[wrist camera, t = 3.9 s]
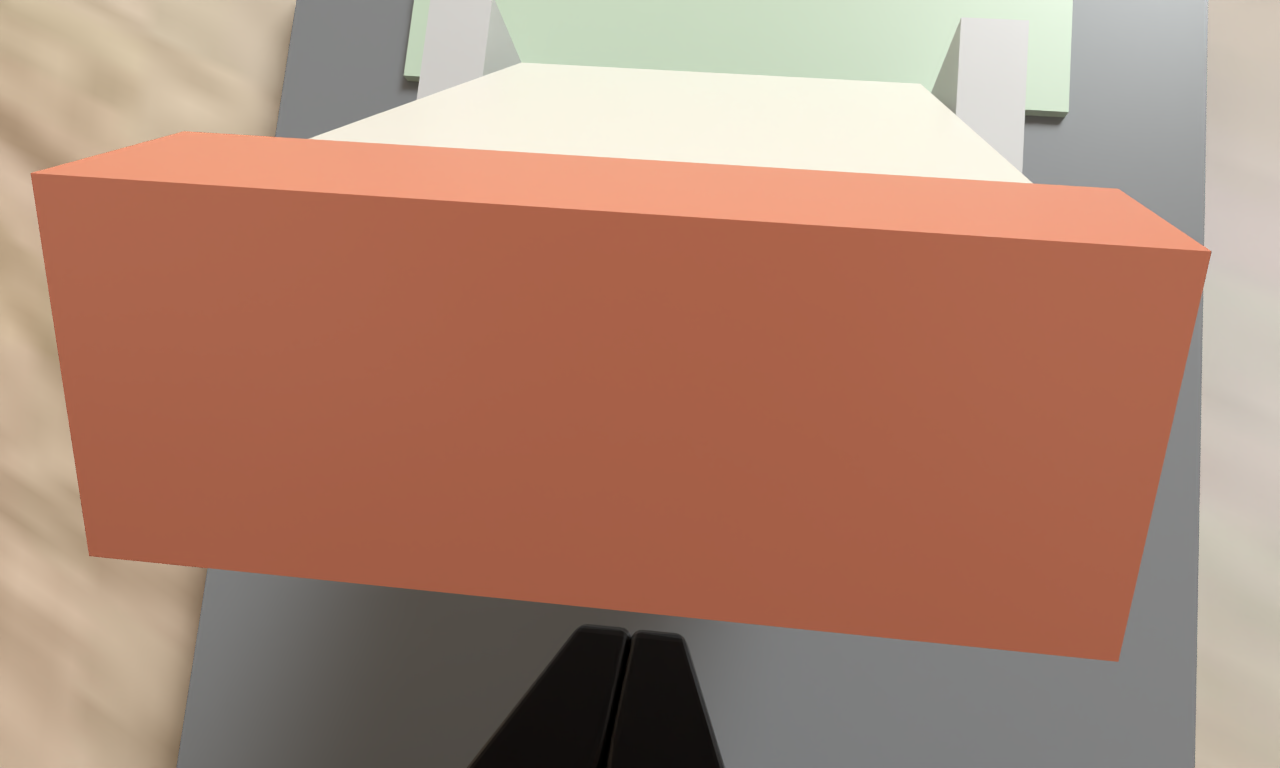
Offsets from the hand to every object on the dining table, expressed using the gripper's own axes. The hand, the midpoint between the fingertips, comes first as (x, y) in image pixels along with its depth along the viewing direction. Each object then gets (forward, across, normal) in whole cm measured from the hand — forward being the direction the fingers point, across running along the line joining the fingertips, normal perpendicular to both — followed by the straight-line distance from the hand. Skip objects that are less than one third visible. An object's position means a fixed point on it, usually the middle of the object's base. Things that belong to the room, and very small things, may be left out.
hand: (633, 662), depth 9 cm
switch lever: (+8, 0, -1) cm, 8 cm away
